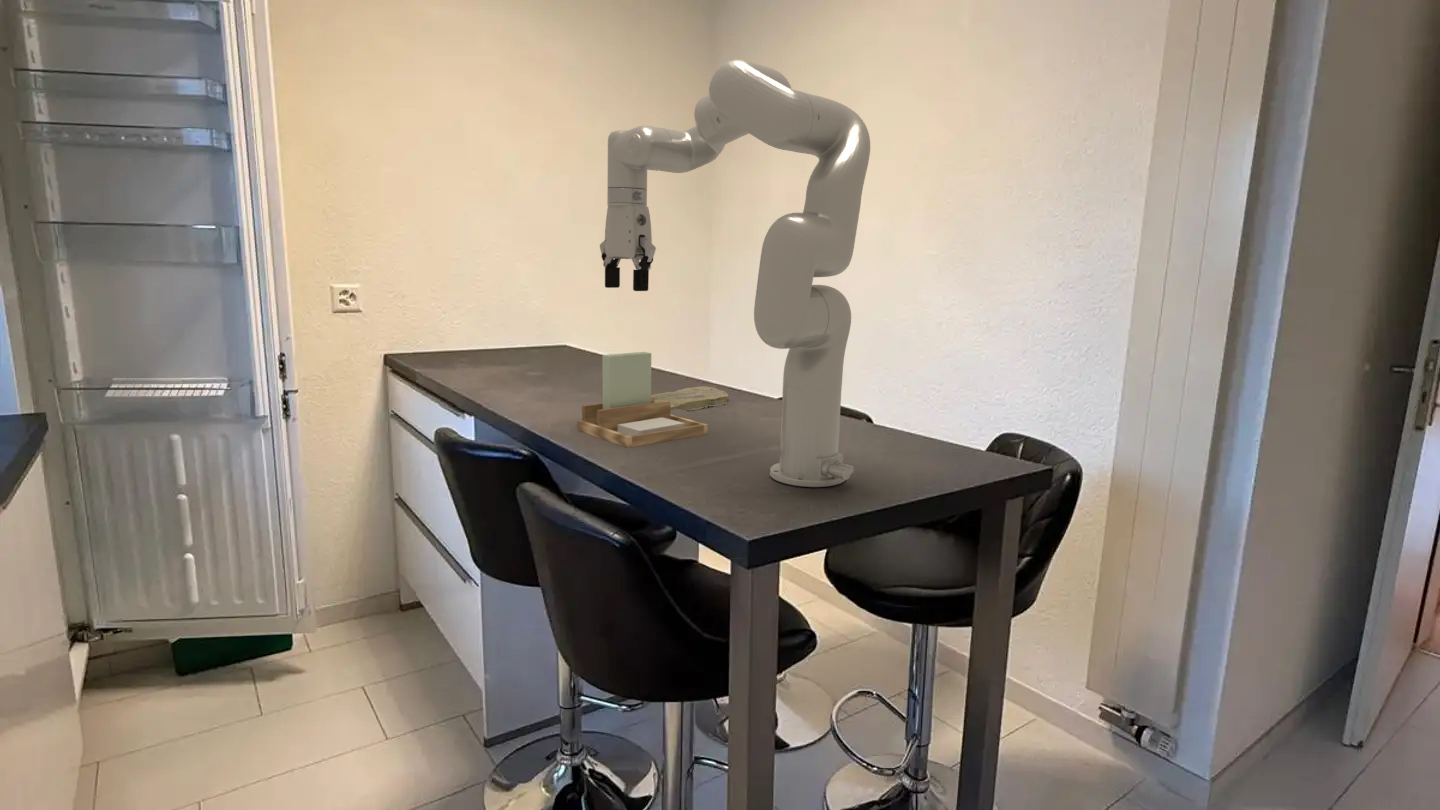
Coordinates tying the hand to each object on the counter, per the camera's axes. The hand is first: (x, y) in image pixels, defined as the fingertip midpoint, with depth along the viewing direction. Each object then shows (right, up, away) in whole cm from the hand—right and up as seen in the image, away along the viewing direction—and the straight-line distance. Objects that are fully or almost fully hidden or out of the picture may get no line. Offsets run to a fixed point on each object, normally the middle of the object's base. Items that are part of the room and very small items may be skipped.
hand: (626, 289), depth 155 cm
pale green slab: (0, -28, +5) cm, 29 cm away
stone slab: (+9, -24, +34) cm, 42 cm away
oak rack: (+3, -29, +2) cm, 29 cm away
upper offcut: (+5, -28, -1) cm, 29 cm away
